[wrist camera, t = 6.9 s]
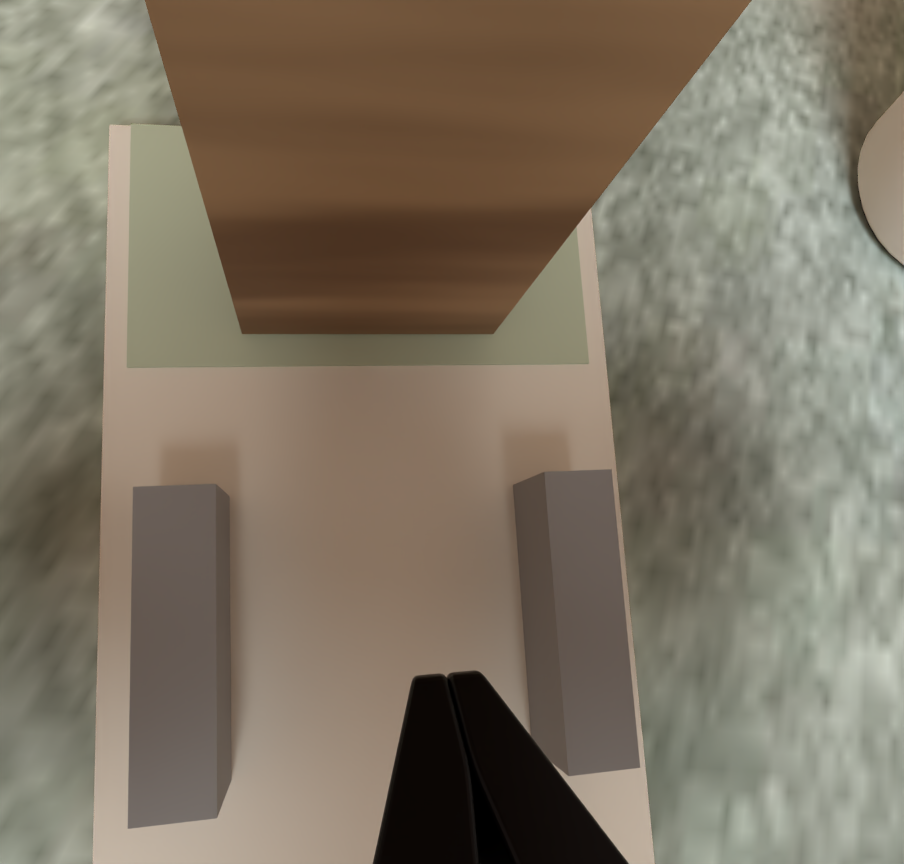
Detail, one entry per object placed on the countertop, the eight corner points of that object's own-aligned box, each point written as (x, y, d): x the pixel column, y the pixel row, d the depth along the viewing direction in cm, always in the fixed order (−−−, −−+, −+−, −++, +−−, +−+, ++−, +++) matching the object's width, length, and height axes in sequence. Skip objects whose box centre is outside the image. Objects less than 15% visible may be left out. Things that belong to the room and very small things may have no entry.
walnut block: (493, 334, 18) (888, -177, 6) (242, 334, 17) (55, -306, 5) (481, 166, 19) (808, -606, 7) (240, 155, 18) (77, -803, 5)
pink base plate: (664, 1142, 17) (752, 1285, 13) (97, 1269, 15) (32, 1481, 11) (572, 168, 21) (623, 91, 18) (120, 147, 19) (78, 54, 15)
